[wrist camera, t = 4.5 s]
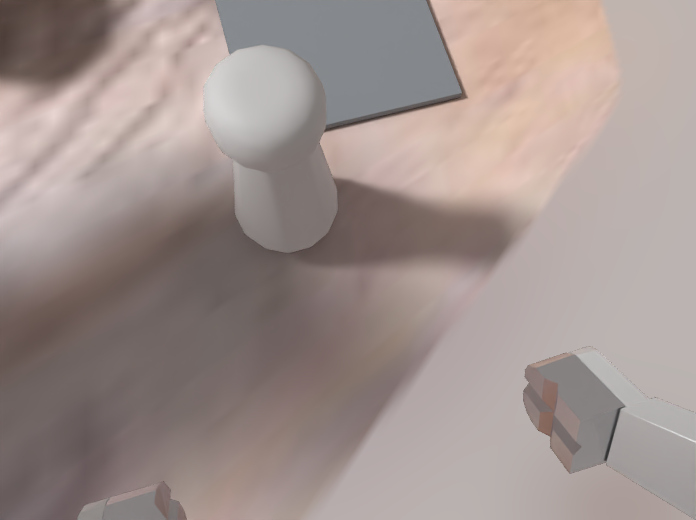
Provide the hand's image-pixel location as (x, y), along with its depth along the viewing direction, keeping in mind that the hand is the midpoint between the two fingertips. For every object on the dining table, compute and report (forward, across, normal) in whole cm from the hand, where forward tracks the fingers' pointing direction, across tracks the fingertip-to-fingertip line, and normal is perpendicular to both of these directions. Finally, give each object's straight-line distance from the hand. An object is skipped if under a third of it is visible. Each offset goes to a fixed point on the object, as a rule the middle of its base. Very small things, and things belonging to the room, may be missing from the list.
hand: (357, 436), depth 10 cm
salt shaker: (+19, 0, +4) cm, 19 cm away
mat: (+29, -6, -7) cm, 31 cm away
